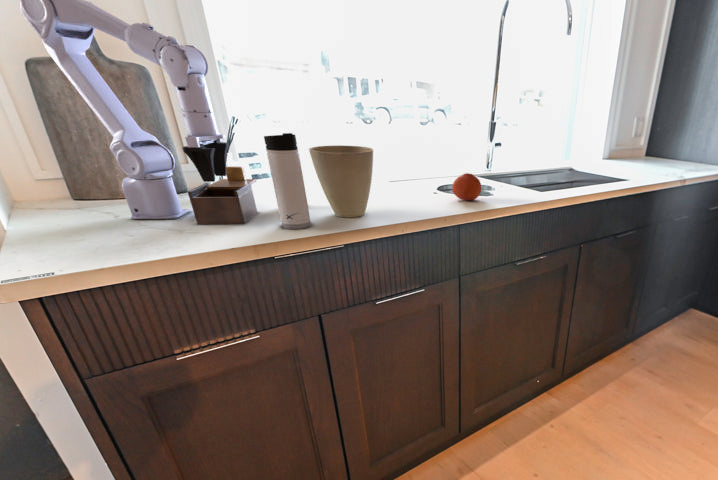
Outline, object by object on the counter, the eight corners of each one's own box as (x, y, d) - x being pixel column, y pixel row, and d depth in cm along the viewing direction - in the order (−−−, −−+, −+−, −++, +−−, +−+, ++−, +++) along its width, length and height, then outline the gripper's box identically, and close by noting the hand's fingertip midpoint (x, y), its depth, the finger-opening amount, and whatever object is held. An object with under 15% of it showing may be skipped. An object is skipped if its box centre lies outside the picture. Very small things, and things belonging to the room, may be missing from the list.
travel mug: (294, 231, 96) (275, 134, 86) (276, 226, 99) (256, 131, 89) (317, 225, 101) (302, 133, 91) (300, 221, 104) (283, 130, 94)
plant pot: (309, 212, 111) (297, 146, 103) (360, 205, 121) (353, 144, 113) (338, 224, 102) (328, 153, 95) (390, 215, 112) (385, 150, 104)
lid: (206, 189, 102) (202, 172, 100) (222, 181, 111) (218, 165, 109) (244, 189, 104) (240, 172, 102) (256, 181, 113) (253, 166, 111)
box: (197, 224, 98) (187, 191, 94) (214, 213, 107) (205, 182, 104) (245, 223, 100) (237, 191, 96) (257, 212, 109) (250, 183, 106)
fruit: (467, 195, 139) (467, 169, 135) (486, 200, 134) (487, 173, 130) (446, 199, 133) (446, 172, 129) (465, 204, 128) (465, 176, 124)
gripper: (206, 114, 86) (224, 184, 92) (229, 111, 98) (243, 173, 104) (166, 112, 84) (187, 184, 91) (194, 110, 96) (211, 173, 103)
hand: (215, 178), depth 97 cm, fingers open, 7 cm apart
